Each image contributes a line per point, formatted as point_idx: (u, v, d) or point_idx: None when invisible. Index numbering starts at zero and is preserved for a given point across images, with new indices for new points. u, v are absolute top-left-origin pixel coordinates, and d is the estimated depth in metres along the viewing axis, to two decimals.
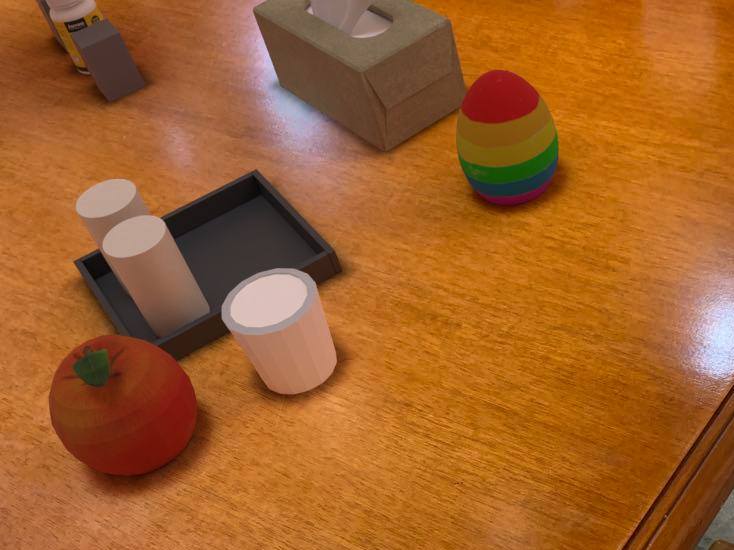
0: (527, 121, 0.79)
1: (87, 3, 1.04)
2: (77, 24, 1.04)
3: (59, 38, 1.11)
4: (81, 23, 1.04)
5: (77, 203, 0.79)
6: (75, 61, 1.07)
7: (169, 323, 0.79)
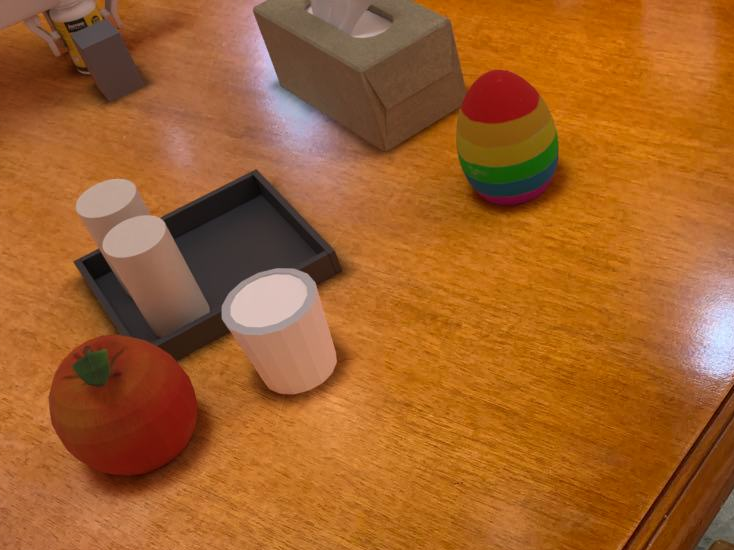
0: (527, 121, 0.79)
1: (87, 3, 1.04)
2: (77, 24, 1.04)
3: None
4: (81, 23, 1.04)
5: (77, 203, 0.79)
6: (75, 61, 1.07)
7: (169, 323, 0.79)
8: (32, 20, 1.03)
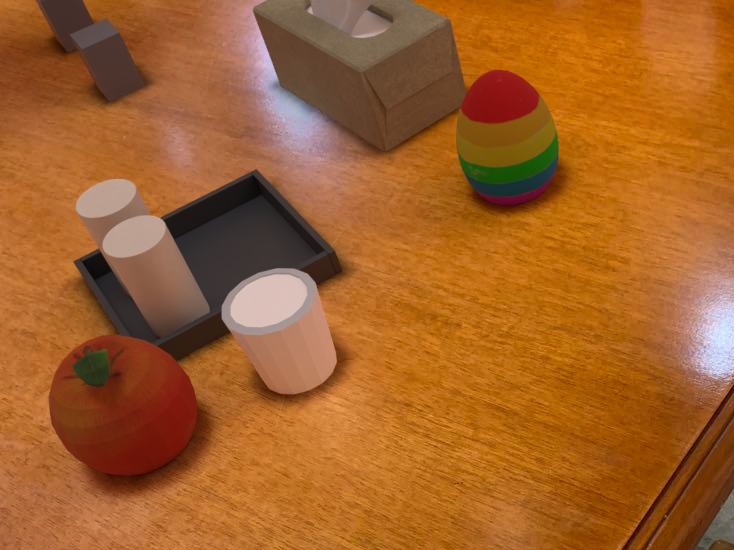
0: (527, 121, 0.79)
1: None
2: None
3: (59, 38, 1.11)
4: None
5: (77, 203, 0.79)
6: None
7: (169, 323, 0.79)
8: None
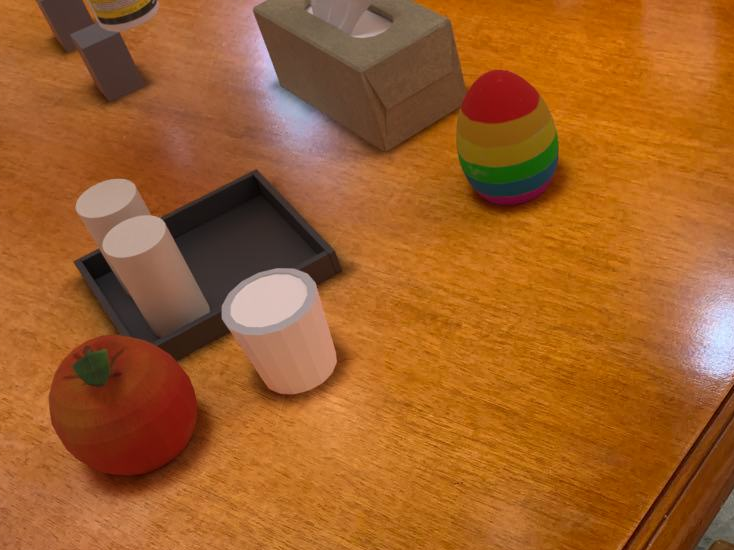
0: (527, 121, 0.79)
1: None
2: None
3: (59, 38, 1.11)
4: None
5: (77, 203, 0.79)
6: (137, 1, 0.75)
7: (169, 323, 0.79)
8: None
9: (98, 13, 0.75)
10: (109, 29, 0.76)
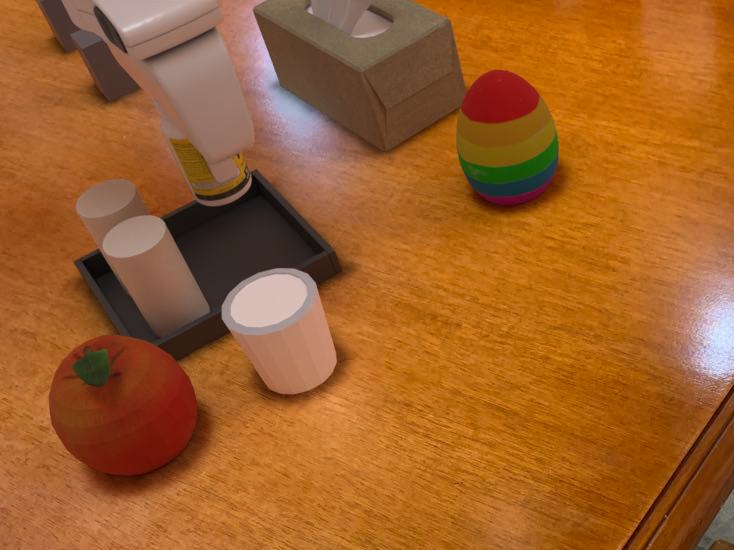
0: (527, 121, 0.79)
1: None
2: None
3: (59, 38, 1.11)
4: None
5: (77, 203, 0.79)
6: (234, 179, 0.78)
7: (169, 323, 0.79)
8: None
9: (196, 190, 0.78)
10: (206, 204, 0.79)
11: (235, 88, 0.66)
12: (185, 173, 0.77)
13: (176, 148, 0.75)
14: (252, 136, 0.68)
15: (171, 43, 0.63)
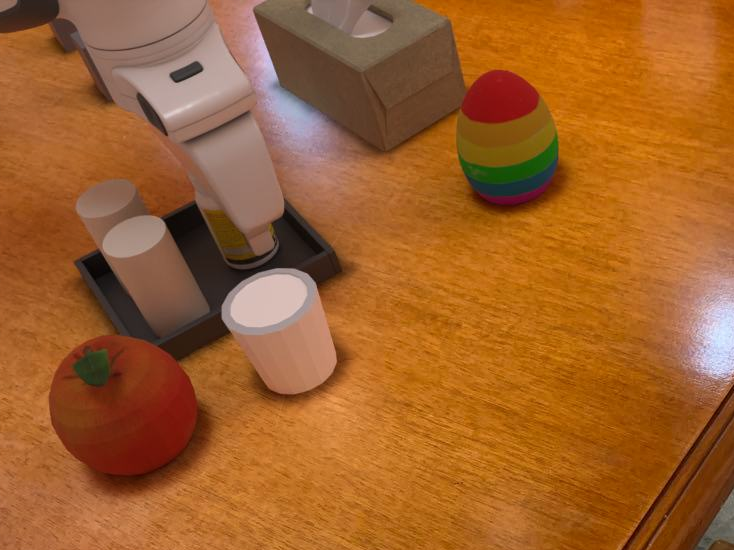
0: (527, 121, 0.79)
1: None
2: None
3: (59, 38, 1.11)
4: None
5: (77, 203, 0.79)
6: None
7: (169, 323, 0.79)
8: None
9: (227, 255, 0.83)
10: (236, 267, 0.84)
11: (267, 165, 0.71)
12: (217, 239, 0.82)
13: (210, 217, 0.80)
14: (282, 208, 0.73)
15: (209, 127, 0.68)
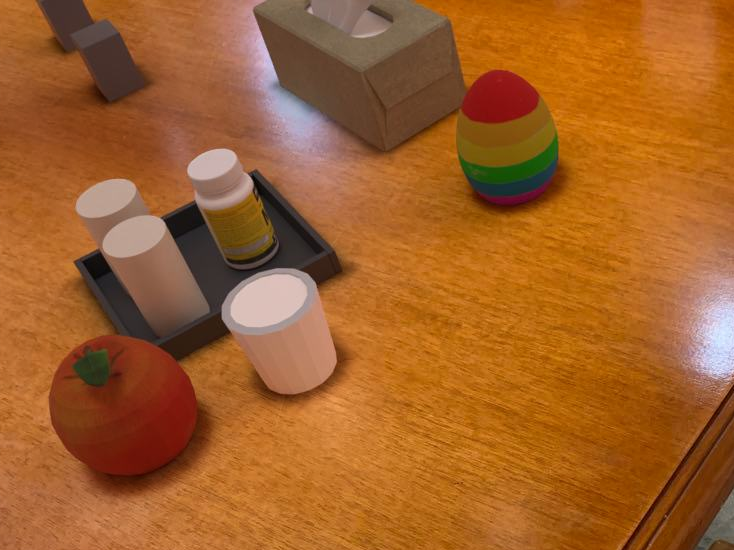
0: (527, 121, 0.79)
1: None
2: None
3: (59, 38, 1.11)
4: None
5: (77, 203, 0.79)
6: (263, 244, 0.83)
7: (169, 323, 0.79)
8: None
9: (227, 255, 0.83)
10: (236, 267, 0.84)
11: None
12: (217, 239, 0.82)
13: (210, 217, 0.80)
14: None
15: None
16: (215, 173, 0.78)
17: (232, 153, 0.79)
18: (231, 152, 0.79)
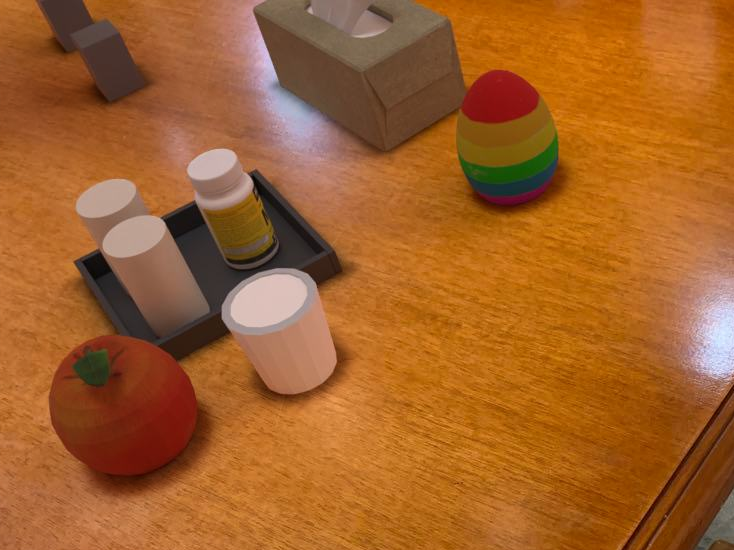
0: (527, 121, 0.79)
1: None
2: None
3: (59, 38, 1.11)
4: None
5: (77, 203, 0.79)
6: (263, 244, 0.83)
7: (169, 323, 0.79)
8: None
9: (227, 255, 0.83)
10: (236, 267, 0.84)
11: None
12: (217, 239, 0.82)
13: (210, 217, 0.80)
14: None
15: None
16: (215, 173, 0.78)
17: (232, 153, 0.79)
18: (231, 152, 0.79)
